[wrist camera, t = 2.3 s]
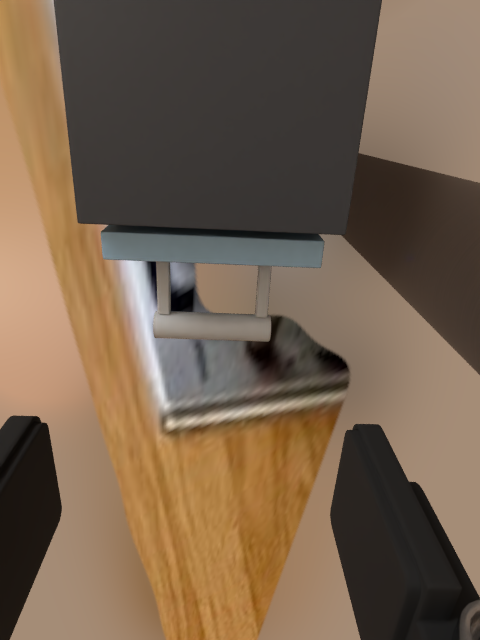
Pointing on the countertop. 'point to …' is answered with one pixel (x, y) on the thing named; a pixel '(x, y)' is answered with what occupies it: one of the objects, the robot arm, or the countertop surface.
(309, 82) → the compartment
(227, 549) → the countertop surface
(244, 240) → the drawer
